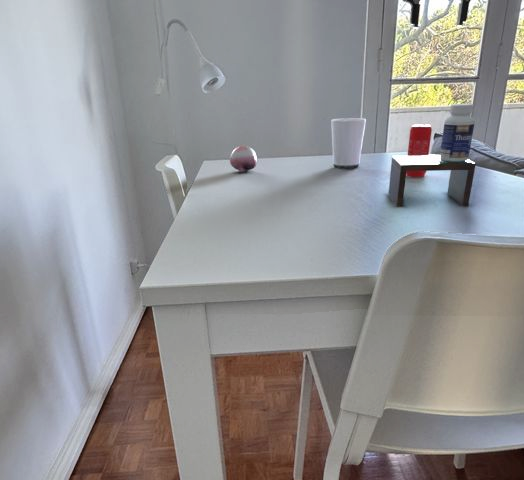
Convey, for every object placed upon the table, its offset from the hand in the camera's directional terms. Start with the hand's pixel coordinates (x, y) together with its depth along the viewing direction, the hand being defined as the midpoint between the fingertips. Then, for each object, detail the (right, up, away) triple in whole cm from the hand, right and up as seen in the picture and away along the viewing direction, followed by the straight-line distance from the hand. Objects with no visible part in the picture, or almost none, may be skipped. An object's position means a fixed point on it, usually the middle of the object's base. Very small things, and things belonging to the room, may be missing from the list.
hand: (437, 27), depth 93 cm
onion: (-40, -12, +46) cm, 62 cm away
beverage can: (+6, -18, +31) cm, 36 cm away
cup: (-10, -9, +47) cm, 49 cm away
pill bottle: (+3, -27, 0) cm, 27 cm away
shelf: (0, -32, +7) cm, 33 cm away
